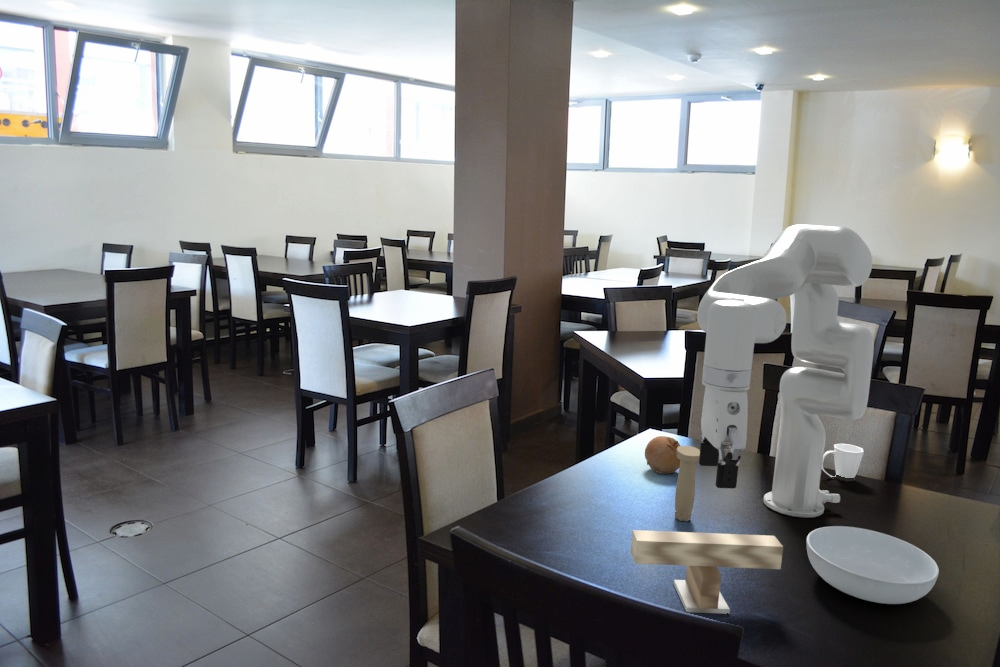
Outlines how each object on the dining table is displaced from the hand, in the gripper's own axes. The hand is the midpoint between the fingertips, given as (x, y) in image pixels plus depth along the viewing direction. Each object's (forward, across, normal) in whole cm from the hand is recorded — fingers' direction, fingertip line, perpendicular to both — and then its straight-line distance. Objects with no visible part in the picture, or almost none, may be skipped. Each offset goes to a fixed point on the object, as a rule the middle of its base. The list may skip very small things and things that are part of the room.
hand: (716, 476), depth 124 cm
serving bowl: (+21, +3, -29) cm, 36 cm away
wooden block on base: (+21, -3, +2) cm, 21 cm away
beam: (+14, -3, +2) cm, 14 cm away
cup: (+22, +57, -50) cm, 78 cm away
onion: (+22, +57, -6) cm, 61 cm away
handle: (+21, +29, -3) cm, 36 cm away
